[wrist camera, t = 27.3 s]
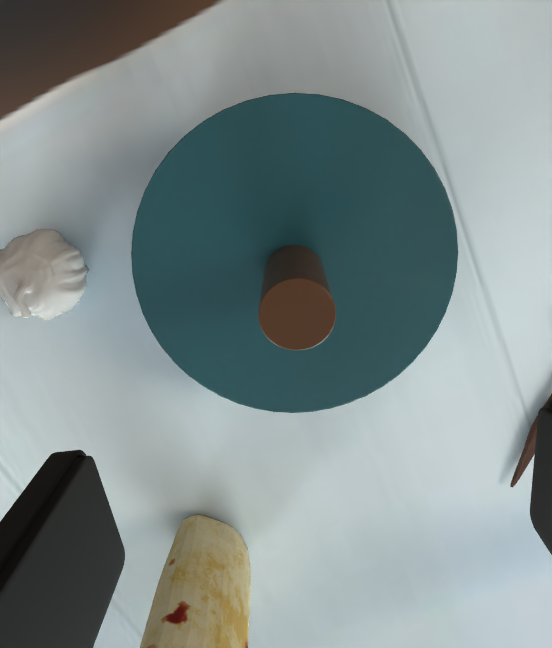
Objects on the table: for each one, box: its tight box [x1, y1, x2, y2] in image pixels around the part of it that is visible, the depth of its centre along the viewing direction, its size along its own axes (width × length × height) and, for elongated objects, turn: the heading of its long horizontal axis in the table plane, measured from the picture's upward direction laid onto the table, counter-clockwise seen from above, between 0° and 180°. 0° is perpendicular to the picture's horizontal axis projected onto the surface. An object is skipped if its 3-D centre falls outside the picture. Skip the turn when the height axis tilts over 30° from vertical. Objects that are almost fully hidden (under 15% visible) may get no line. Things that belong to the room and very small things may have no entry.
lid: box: [131, 93, 458, 413], centre depth 22 cm, size 18×18×8 cm
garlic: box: [0, 229, 89, 320], centre depth 29 cm, size 6×5×5 cm
